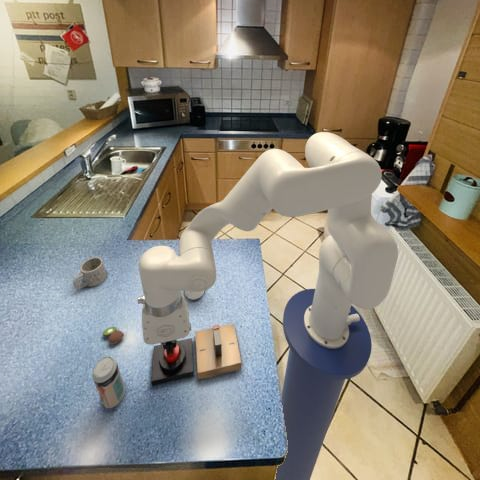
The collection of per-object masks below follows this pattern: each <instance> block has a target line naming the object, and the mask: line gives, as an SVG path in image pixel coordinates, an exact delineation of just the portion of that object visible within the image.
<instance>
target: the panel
mask: <svg viewBox="0 0 480 480" xmlns="http://www.w3.org/2000/svg"><path fill="white" fill-rule="evenodd" d="M219 330H220V337H221V343H222V356H219V357H216V356H215V348H214V340H213V327H211V328H206V329H202V330H197V331H196V330H195V331H194V335H195V336H194V337H195V351H196V352H195V354H196V367H197V368H196V371H197V380H198V381H200V380H205V379H207V378H212V377H217V376H220V375H224V374H229V373H232V372H236V371H240V370H242V357H241V353H240V347H239V342H238V337H237V332H236V327H235V323H231V324H226V325H221V326H219Z"/></svg>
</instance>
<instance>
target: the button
mask: <svg viewBox="0 0 480 480" xmlns="http://www.w3.org/2000/svg"><path fill="white" fill-rule="evenodd" d="M164 354H165V359H166V361H167V362H168V363H173V362H175V361H176V360H177V359H178V358H179V355H180V352H179V347H178V345H177V344H176V347H175V348H174V354H171V353H170V354H169V355H167V352H166V349H165V352H164Z"/></svg>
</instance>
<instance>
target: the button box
mask: <svg viewBox="0 0 480 480" xmlns="http://www.w3.org/2000/svg"><path fill="white" fill-rule="evenodd" d="M176 344H177V345H178V347H179V352H180V355H179V358H178V359H177V360H176V361H175V362H173V363H168V362H167V361H166V359H165V354H164V352H165V350H164V348H163V345H161V344H156V345H154V346H153V353H152V363H151V365H152V366H151V375H150V376H151V377H150V383H151V386H152V387H155V386H160V385H164V384H168V383H172V382H176V381H181V380H184V379H188V378H193V377H195V370H194V348H193V347H194V346H193V345H194V344H193V338H192V337H190V338H186V339H185V338H184V339H179V340H177V341H176Z"/></svg>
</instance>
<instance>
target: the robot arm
mask: <svg viewBox="0 0 480 480" xmlns="http://www.w3.org/2000/svg"><path fill="white" fill-rule="evenodd" d="M304 157H305V160H306V164H307V165H308V166H309V167H305V166H303V165H302V163H300V161H298V160H297V159H296V158H295V157H294V156H293V155H292V154H290V153H289V152H287V151H285V150H284V149H283V150H282V149H280V148H269V149H268V150H266V151H264V152H262V154H261V155H259V156H258V157H257V159H256V160H255V161H254V162H253V164H252V165H251V166H250V167H249V168H248V169H247V171H246V172H245V173H244V174H243V176H242V177H241V178H240V179H239V180H238V181H237V183H236V184H235V185H234V186H233V187H232V189H230V191H229V192H228V193H227V195H226V196H225V197H224V198H223V199H222V200H221V201H218V202H215V203H213V204H210V205H209V206H206V207H204V208H203V209H201V210H200V211H199V212H198V213H197V214H196V215H195V216H194V217H193V219H192V220H191V221H190V222H189V224H187V226H186V227H185V229H184V230H183V232H182V233H181V236H180V237H179V241H178V255H177V252H176V251H175V249H173V248H172V247H170V246H168V245H164V244H163V245H156V246H152V247H151V248H149V249H147V250H146V251H144V252H143V253H142V255H141V256H140V258H139V260H138V272H139V276H140V282H141V283H140V284H141V287H142V293H143V295H141V296H138V297H137V305H138V304H141V305H142V308H141V309H142V310H141V328H142V338H143V342H144V343H145V344H146V345H158V344H160V345H163V348H164V350H165V349H166V352H167V355H169V354H170V353H171V354H174V348H175V347H176V341H178V340H182V339H185V338H186V337H188V335H189V334H190V331H192V324H191V322H190V313H189V307H188V302H187V300H186V296H185V294H184V293H183V292H185V291H190V292H200V291H204V292H205V291H208V290H209V289H211V288H212V287H213V286H214V285H215V283H216V280H217V267H216V260H215V255H214V249H213V241H214V240H215V238H216V237H217V236H218V234H219V233H220V232H221V231H222V230H223V229H224V228H225V227H227V226H228V225H232V226H233V227H235V228H236V229H238V230H240V231H244V232H252V231H254V230H255V229H256V228H257V227H258V226H259V225H260V224H261V222H263V220H264V219H265V217H267V215H268V214H269V213H270V212H271V211H272V210H273V211H274V212H275V213H277V214H279V215H280V216H283V217H286V218H298V217H303V216H309V215H313V214H318V213H322V212H324V211H327V219H326V220H327V223H326V224H327V225H326V226H327V230H328V233H329V235H327V236H326V237H325V238H324V239H323V240H322V242H321V244H320V246H319V250H318V274H317V279H316V284H315V288H314V289H315V293H314V298H313V303H312V305H311V306H309V307H308V308H307V310H306V311H305V314H304V326H305V329H306V331H307V333H308V334H309V336H310V337H311V338H312V339H313V340H314V341H315V342H316V343H318V344H319V345H321V346H323V347H326V348H331V349H335V348H340V347H342V346H343V345H344V344H345V343H346V342H347V339H348V336H349V327H348V325H350V324H351V322H357V321H360V317H359V315H358V314H352V315H349V316H348V314H349V313H350V312H351V311H350V308H351V305H352V306H355V307H357V308H358V309H362V310H371V309H374V308H377V307H378V306H380V305H381V304H382V303H383V301H385V299H386V298H387V295H388V294H389V292H390V288H391V286H392V282H393V279H394V274H395V271H396V266H397V262H398V258H399V248H398V245H397V242H396V240H395V238H394V236H393V235H392V234H391V233H390V232H389V231H388V230H387V229H386V228H385V227H383V225H381V224H380V223H379V222H378V221H377V220H376V219H375V218H374V217H373V214H372V211H371V210H372V199H373V193H374V192H376V190H377V189H378V187H380V186H379V185H380V184H381V182H382V178H383V177H382V176H383V175H382V174H383V173H382V169H381V166H380V165H379V162H378V161H377V160H376V159H374V157H372V156H371V155H369V154H368V153H366V151H365V152H364V151H363V150H362V149H360V148H357V147H356V146H354V145H352V144H351V143H350V142H348V141H347V140H346V139H345V138H343V137H342V136H339V135H337V134H335V133H333V132H328V131H320V132H316V133H314V134H313V135H311V136H310V137H309V138H308V139H307V142H306V144H305V147H304Z"/></svg>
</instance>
